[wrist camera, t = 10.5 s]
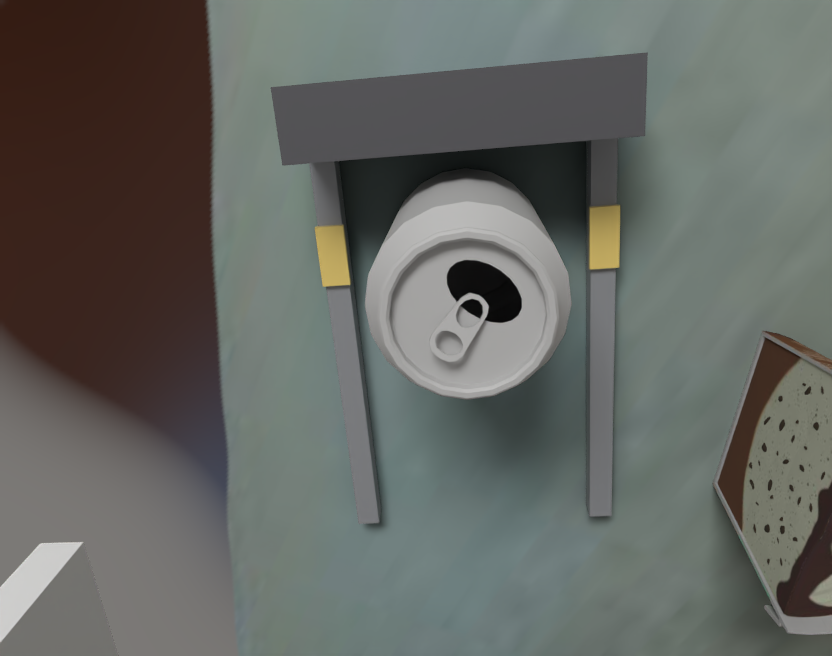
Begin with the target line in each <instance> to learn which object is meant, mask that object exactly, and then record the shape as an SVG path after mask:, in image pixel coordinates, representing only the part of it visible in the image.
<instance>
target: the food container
mask: <svg viewBox="0 0 832 656" xmlns="http://www.w3.org/2000/svg"><path fill="white" fill-rule="evenodd" d="M713 486H714V488H715V490H716V492H717V494H718V496H719V498H720V500H721V502H722V504H723V506H724V508H725V510H726V512H727V514H728V516H729V518H730V520H731V522H732V524H733V526H734V528H735V530H736V532H737V534H738V536H739V538H740V540H741V542H742V544H743V546H744V548H745V550H746V552H747V555H748V557H749V559H750V561H751V563H752V565H753V567H754V569H755V571H756V573H757V575H758V577H759V579H760V581H761V583H762V585H763V587H764V589H765V591H766V593H767V595H768V597H769V599H770V601H771V603H772V605H764V609H765V610H766V611H767V613H768V614H769V615H770V616H771V617H772V618H773V620H774V621H775V622H776V623H777V624H778V626H781V627H784V628H785V630H786V632H787V633H792V634H804V635H814V634H832V360H830V359H828V358H826V357H825V356H823V355H821V354H819V353H817V352H815V351H813V350H812V349H810V348H808V347H806V346H804V345H802V344H800V343H799V342H797V341H795V340H793V339H791V338H788V337H786V336H783V335H780V334H777V333H772V332H767V331H762V333H761V336H760V339H759V342H758V345H757V349H756V352H755V355H754V358H753V361H752V364H751V367H750V370H749V373H748V376H747V379H746V382H745V385H744V388H743V391H742V395H741V398H740V401H739V404H738V407H737V410H736V413H735V416H734V419H733V422H732V425H731V428H730V431H729V434H728V437H727V441H726V444H725V447H724V450H723V453H722V456H721V459H720V462H719V465H718V468H717V471H716V474H715V477H714V480H713Z"/></svg>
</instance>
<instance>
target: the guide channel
mask: <svg viewBox="0 0 832 656" xmlns="http://www.w3.org/2000/svg"><path fill="white" fill-rule="evenodd" d="M646 86H647V53H638V54H627V55H616V56H605V57H595V58H584V59H573V60H562V61H551V62H540V63H530V64H519V65H508V66H497V67H486V68H476V69H465V70H454V71H443V72H432V73H422V74H411V75H400V76H389V77H378V78H367V79H357V80H346V81H335V82H324V83H313V84H303V85H292V86H281V87H271V92H272V99H273V106H274V112H275V119H276V125H277V132H278V139H279V145H280V152H281V159H282V165H294V164H306V163H309V164H310V171H311V179H312V186H313V193H314V201H315V208H316V215H317V223H318V226H316V227H315V233H316V240H317V247H318V255H319V262H320V269H321V276H322V284H323V287H324V286H326V288H327V296H328V303H329V310H330V318H331V325H332V332H333V340H334V347H335V354H336V362H337V369H338V376H339V383H340V391H341V398H342V405H343V413H344V420H345V427H346V435H347V442H348V449H349V457H350V464H351V471H352V479H353V486H354V493H355V501H356V508H357V515H358V522H359V524H366V523H379V521H380V516H381V503H380V495H379V487H378V478H377V470H376V462H375V454H374V445H373V437H372V429H371V421H370V413H369V404H368V396H367V388H366V380H365V372H364V363H363V355H362V347H361V339H360V331H359V322H358V314H357V306H356V298H355V290H354V281H353V273H352V265H351V257H350V248H349V240H348V232H347V224H346V216H345V207H344V199H343V191H342V183H341V175H340V166H339V161H343V160H355V159H368V158H380V157H392V156H404V155H417V154H429V153H441V152H454V151H466V150H478V149H490V148H503V147H515V146H527V145H540V144H552V143H564V142H576V141H587V215H586V506H587V509H588V512H589V516H590V517H591V516H611V511H612V453H613V394H614V336H615V277H616V268H619V248H620V205H617V160H618V138H625V137H638V136H645V119H646Z"/></svg>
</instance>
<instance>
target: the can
mask: <svg viewBox="0 0 832 656" xmlns="http://www.w3.org/2000/svg"><path fill="white" fill-rule="evenodd" d="M571 305H572V303H571V294H570V285H569V277H568V272H567V270H566V268H565V266H564V264H563V261H562V259H561V257H560V255H559V253H558V251H557V249H556V247H555V245H554V243H553V241H552V240H551V238H550V236H549V234H548V232H547V231H546V229H545V227H544V225H543V224H542V222H541V220H540V218H539V217H538V215H537V213H536V211H535V210H534V208H533V206H532V204H531V202H530V201H529V199H528V198H527V197H526V196H525V195H524V194H523V193H522V192H521V191H520V190H519V189H518V188H517V187H516V186H515V185H514V184H513V183H512V182H510V181H508V180H506V179H504V178H502V177H500V176H498V175H496V174H494V173H492V172H489V171H482V170H475V169H468V168H464V169H459V170H453V171H448V172H442V173H440V174H438V175H436V176H434V177H432V178H431V179H429V180H427V181H425V182H423V183H421V184H420V185H419V186H418V187H417V188H416V189H415V190H414V191H413V192H412V193H411V194H410V195H409V196H408V197H407V198H406V200H405V201H404V202H403V204H402V206H401V208H400V210H399V212H398V214H397V216H396V218H395V220H394V222H393V224H392V226H391V228H390V230H389V232H388V234H387V236H386V238H385V240H384V242H383V244H382V246H381V248H380V251H379V253H378V255H377V257H376V259H375V261H374V263H373V265H372V268H371V270H370V272H369V274H368V281H367V290H366V299H365V308H366V313H367V317H368V322H369V326H370V331H371V335H372V337H373V338H374V340H375V342H376V343H377V345H378V347H379V348H380V350H381V352H382V353H383V355H384V357H385V359H386V360H387V361H388V362H389V363H390V364H391V365H392V366H393V367H395V368H396V369H397V370H398V371H399V372H400V373H401V374H402V375H404V376H405V377H406V378H407V379H408V380H409V381H411V382H413V383H415V384H416V385H418V386H420V387H423V388H425V389H427V390H429V391H431V392H433V393H436V394H438V395H440V396H445V397H452V398H459V399H466V400H469V399H476V398H484V397H491V396H496V395H498V394H500V393H502V392H504V391H507V390H509V389H511V388H513V387H516V386H518V385H520V384H521V383H522V382H524V381H526V380H527V379H528V378H530V377H531V376H532V375H533V374H534V373H535V372H536V371H538V370H539V369H540V368H541V367H542V366H543V365H544V364H546V363H547V362H548V361H549V360H550V358H551V356H552V355H553V353H554V351H555V350H556V348H557V346H558V345H559V343H560V341H561V340H562V338H563V337H564V335H565V331H566V327H567V322H568V318H569V314H570V309H571Z"/></svg>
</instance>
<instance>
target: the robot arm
mask: <svg viewBox="0 0 832 656" xmlns="http://www.w3.org/2000/svg"><path fill="white" fill-rule="evenodd" d="M0 656H118V653H117V649H116V646H115V643H114V640H113V636H112V633H111V630H110V626H109V623H108V620H107V617H106V614H105V610H104V607H103V604H102V600H101V597H100V594H99V591H98V588H97V584H96V581H95V578H94V574H93V571H92V568H91V565H90V561H89V558H88V555H87V552H86V548H85V545H84V542H69V543H41V544H40V545H39V546H38V547H37V548H36V549H35V550H34V551H33V552H32V553H31V554H30V555H29V557H27V559H26V560H25V561H24V562H23V563H22V564H21V565H20V566H19V567H18V568H17V570H16V571H15V572H14V573H13V574H12V575H11V576H10V577H9V578H8V579H7V580H6V582H5V583H4V584H3V585H2V586H1V587H0Z"/></svg>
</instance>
